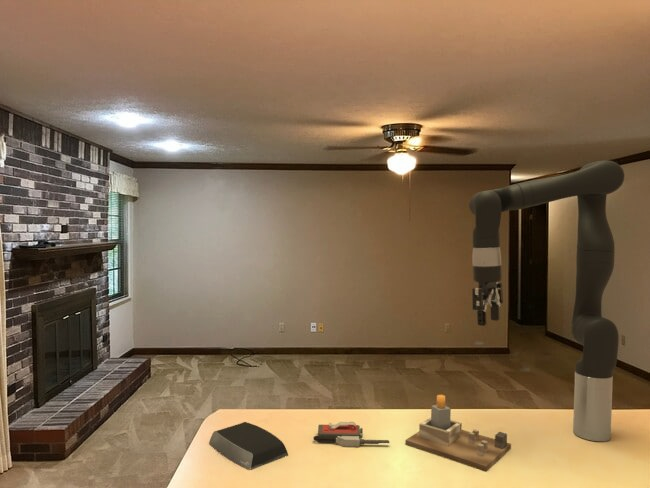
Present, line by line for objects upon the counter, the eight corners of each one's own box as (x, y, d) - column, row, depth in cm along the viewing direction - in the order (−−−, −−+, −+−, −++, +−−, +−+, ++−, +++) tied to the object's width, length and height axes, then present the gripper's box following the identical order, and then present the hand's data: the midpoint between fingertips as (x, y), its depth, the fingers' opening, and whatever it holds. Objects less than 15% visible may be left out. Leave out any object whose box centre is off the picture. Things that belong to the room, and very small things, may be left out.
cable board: (434, 425, 147) (434, 409, 146) (510, 448, 132) (511, 430, 132) (405, 444, 134) (405, 426, 134) (486, 471, 120) (486, 451, 120)
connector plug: (442, 432, 139) (442, 393, 138) (450, 438, 136) (450, 397, 135) (430, 434, 137) (431, 394, 137) (438, 440, 134) (439, 399, 134)
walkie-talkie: (312, 447, 133) (389, 449, 132) (312, 431, 132) (390, 432, 132) (314, 433, 141) (386, 434, 141) (314, 417, 141) (386, 419, 141)
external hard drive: (247, 473, 119) (247, 456, 119) (206, 445, 134) (206, 430, 134) (290, 456, 128) (291, 440, 128) (248, 432, 142) (248, 417, 142)
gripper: (489, 266, 132) (491, 328, 132) (510, 262, 142) (512, 319, 143) (462, 266, 137) (464, 326, 137) (484, 261, 147) (486, 317, 148)
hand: (488, 322), depth 140 cm, fingers open, 8 cm apart
